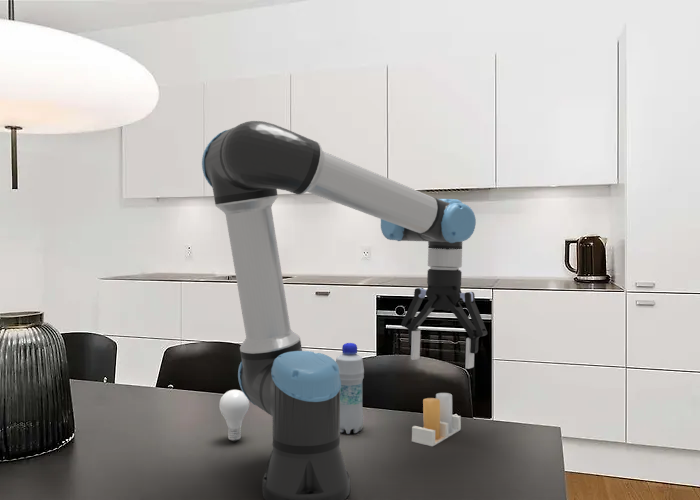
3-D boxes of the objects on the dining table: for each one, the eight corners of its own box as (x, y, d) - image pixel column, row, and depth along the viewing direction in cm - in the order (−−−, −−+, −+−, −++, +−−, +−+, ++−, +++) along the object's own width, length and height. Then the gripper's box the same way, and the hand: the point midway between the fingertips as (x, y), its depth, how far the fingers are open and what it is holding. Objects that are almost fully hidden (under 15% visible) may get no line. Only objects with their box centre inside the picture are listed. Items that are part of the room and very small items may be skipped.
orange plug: (441, 435, 133) (441, 398, 133) (438, 439, 129) (438, 402, 129) (425, 433, 134) (424, 397, 134) (422, 438, 130) (421, 401, 131)
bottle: (365, 426, 140) (365, 340, 139) (362, 436, 133) (363, 346, 133) (336, 425, 141) (336, 339, 140) (332, 435, 134) (332, 345, 133)
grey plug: (455, 430, 136) (455, 395, 136) (445, 434, 134) (445, 398, 133) (443, 426, 139) (443, 391, 138) (432, 430, 136) (432, 394, 136)
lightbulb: (213, 442, 129) (212, 391, 129) (232, 433, 135) (231, 385, 134) (236, 447, 126) (236, 395, 126) (255, 438, 132) (255, 388, 131)
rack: (432, 446, 127) (432, 431, 127) (411, 441, 130) (411, 427, 130) (460, 429, 138) (460, 416, 138) (441, 425, 141) (441, 412, 140)
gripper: (504, 271, 131) (501, 368, 131) (405, 265, 145) (402, 353, 146) (490, 272, 125) (486, 374, 125) (388, 266, 139) (385, 357, 140)
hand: (441, 363), depth 135 cm, fingers open, 13 cm apart
